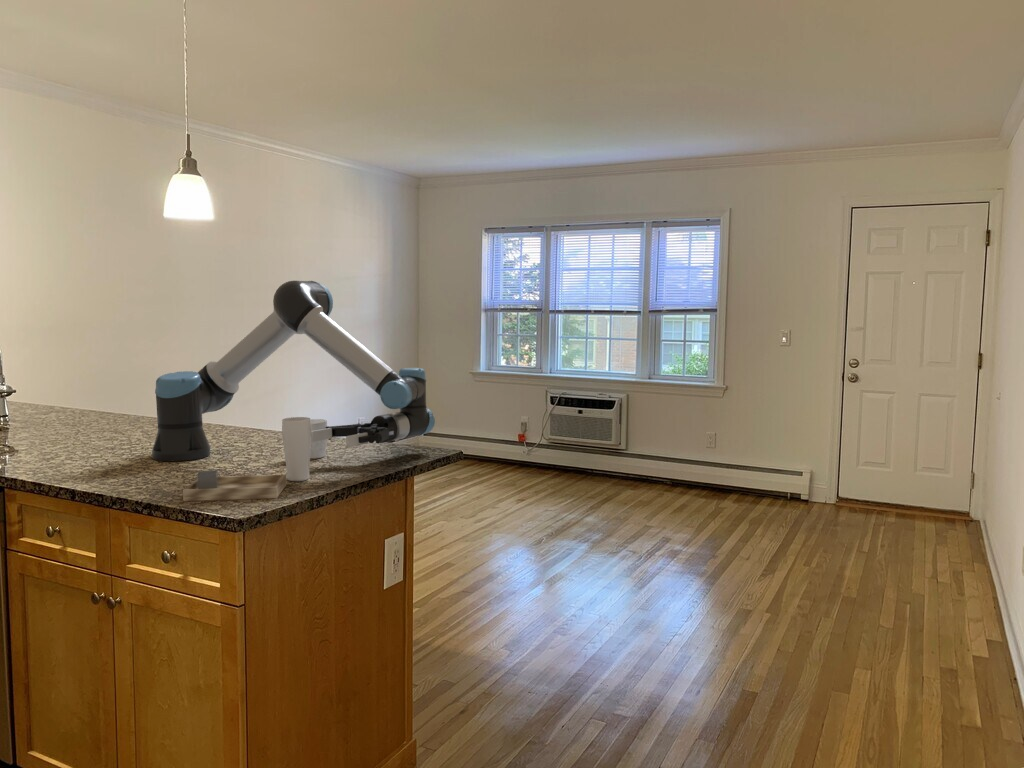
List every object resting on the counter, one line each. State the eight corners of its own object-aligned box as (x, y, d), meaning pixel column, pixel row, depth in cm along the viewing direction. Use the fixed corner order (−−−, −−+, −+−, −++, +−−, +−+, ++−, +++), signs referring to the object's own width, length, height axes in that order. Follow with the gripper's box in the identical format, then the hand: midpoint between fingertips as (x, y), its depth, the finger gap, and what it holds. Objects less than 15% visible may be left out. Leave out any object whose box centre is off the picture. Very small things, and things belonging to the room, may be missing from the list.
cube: (198, 492, 179) (197, 475, 179) (199, 488, 183) (198, 471, 182) (217, 491, 180) (216, 473, 180) (218, 487, 184) (217, 470, 184)
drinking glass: (286, 476, 198) (284, 417, 197) (314, 476, 199) (312, 416, 197) (281, 483, 191) (279, 421, 190) (310, 482, 192) (308, 420, 190)
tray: (183, 501, 175) (182, 490, 175) (199, 487, 188) (199, 477, 187) (276, 497, 177) (276, 487, 177) (286, 484, 190) (286, 474, 190)
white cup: (320, 459, 219) (319, 423, 218) (294, 458, 221) (292, 423, 220) (332, 454, 227) (331, 419, 226) (307, 453, 228) (305, 418, 227)
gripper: (422, 445, 212) (363, 459, 195) (358, 436, 227) (297, 448, 210) (422, 417, 211) (362, 428, 194) (357, 410, 226) (296, 420, 209)
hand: (328, 439), depth 202 cm, fingers open, 13 cm apart
